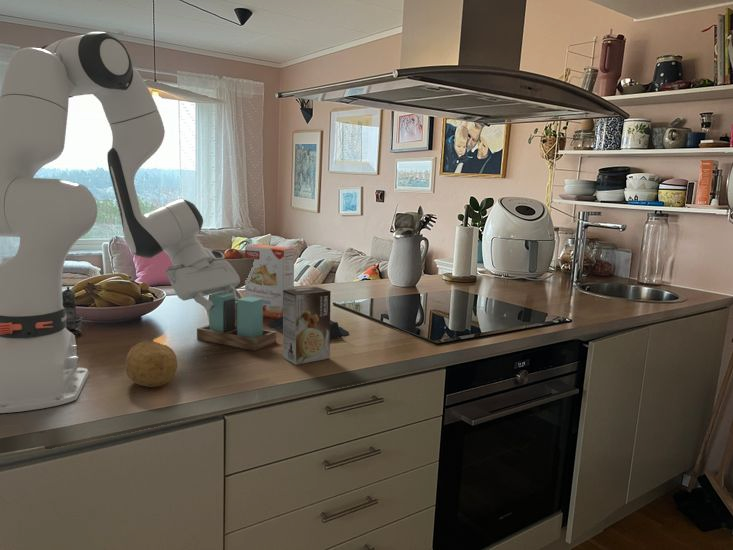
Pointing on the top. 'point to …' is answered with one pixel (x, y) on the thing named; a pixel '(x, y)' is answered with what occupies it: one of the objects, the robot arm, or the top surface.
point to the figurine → (71, 311)
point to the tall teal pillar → (222, 312)
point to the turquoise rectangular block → (249, 317)
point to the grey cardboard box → (306, 324)
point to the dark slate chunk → (334, 328)
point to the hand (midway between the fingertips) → (223, 305)
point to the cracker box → (270, 276)
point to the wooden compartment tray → (236, 338)
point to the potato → (151, 364)
